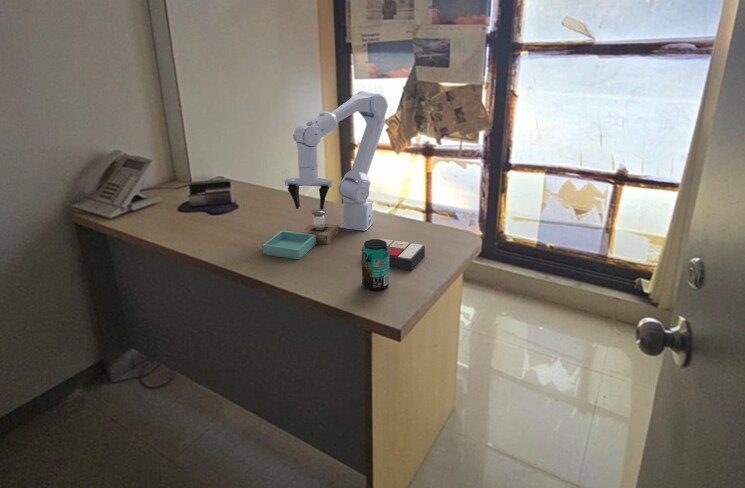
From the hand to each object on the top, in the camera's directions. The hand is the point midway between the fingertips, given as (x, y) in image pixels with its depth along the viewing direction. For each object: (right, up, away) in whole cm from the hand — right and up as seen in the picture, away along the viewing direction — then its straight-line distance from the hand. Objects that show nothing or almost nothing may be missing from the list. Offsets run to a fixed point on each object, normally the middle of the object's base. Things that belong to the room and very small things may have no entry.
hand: (309, 208), depth 151 cm
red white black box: (+26, -16, -9) cm, 32 cm away
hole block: (+3, -9, +5) cm, 11 cm away
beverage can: (+20, -22, -24) cm, 39 cm away
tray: (-6, -13, -3) cm, 14 cm away
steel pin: (+3, -9, +5) cm, 11 cm away
